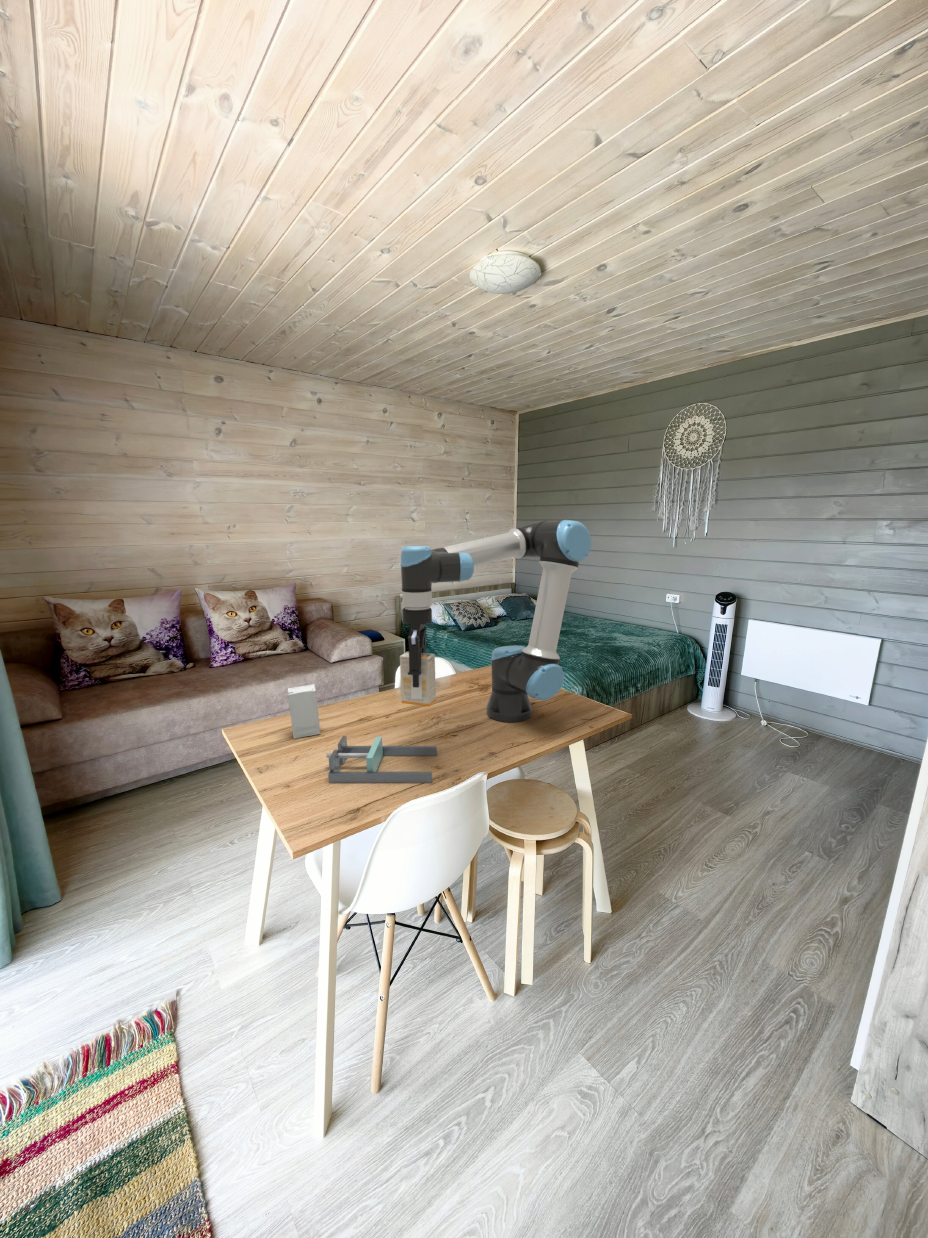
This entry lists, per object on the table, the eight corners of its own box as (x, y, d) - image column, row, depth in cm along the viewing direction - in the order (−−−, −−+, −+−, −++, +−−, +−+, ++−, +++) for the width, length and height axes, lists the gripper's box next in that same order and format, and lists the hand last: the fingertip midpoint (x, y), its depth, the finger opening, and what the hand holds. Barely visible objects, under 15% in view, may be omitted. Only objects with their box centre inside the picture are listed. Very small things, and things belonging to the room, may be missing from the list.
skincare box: (319, 727, 153) (315, 683, 150) (320, 735, 148) (317, 689, 145) (291, 731, 150) (287, 686, 147) (292, 739, 145) (287, 693, 142)
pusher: (382, 755, 133) (381, 736, 132) (373, 778, 122) (372, 758, 120) (334, 755, 134) (333, 736, 133) (320, 778, 122) (318, 758, 121)
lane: (437, 754, 134) (436, 734, 133) (432, 782, 120) (431, 760, 119) (345, 754, 135) (343, 734, 134) (329, 782, 121) (327, 760, 119)
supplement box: (436, 700, 128) (436, 653, 125) (429, 707, 123) (428, 658, 121) (408, 697, 131) (407, 650, 128) (400, 703, 126) (399, 655, 123)
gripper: (408, 601, 131) (410, 682, 136) (394, 614, 113) (397, 706, 117) (436, 601, 131) (437, 682, 135) (426, 614, 112) (428, 707, 117)
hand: (418, 693), depth 126 cm, fingers closed on supplement box, 6 cm apart
